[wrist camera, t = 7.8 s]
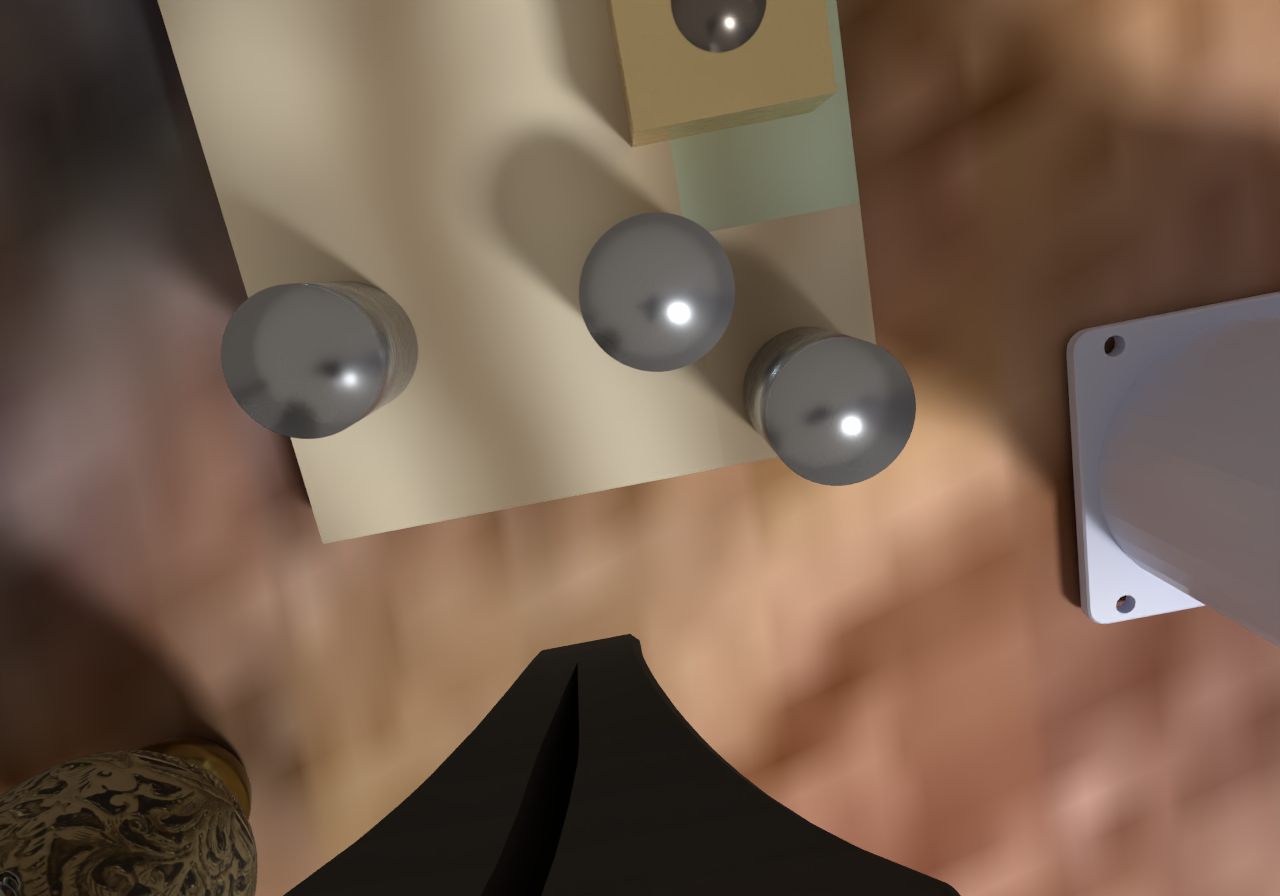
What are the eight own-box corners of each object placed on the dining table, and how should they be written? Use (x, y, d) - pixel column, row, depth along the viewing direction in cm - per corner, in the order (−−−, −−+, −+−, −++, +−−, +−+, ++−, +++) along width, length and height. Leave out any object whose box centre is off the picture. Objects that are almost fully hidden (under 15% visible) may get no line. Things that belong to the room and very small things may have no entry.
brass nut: (785, -92, 16) (809, -143, 14) (811, 112, 17) (837, 91, 15) (596, -54, 16) (593, -99, 14) (632, 147, 17) (634, 132, 15)
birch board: (760, -488, 15) (772, -549, 14) (870, 426, 20) (886, 436, 19) (80, -346, 16) (37, -396, 14) (340, 527, 20) (323, 543, 19)
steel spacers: (780, -352, 15) (820, -503, 12) (874, 438, 19) (922, 470, 16) (118, -215, 15) (-2, -332, 12) (342, 540, 19) (292, 590, 16)
